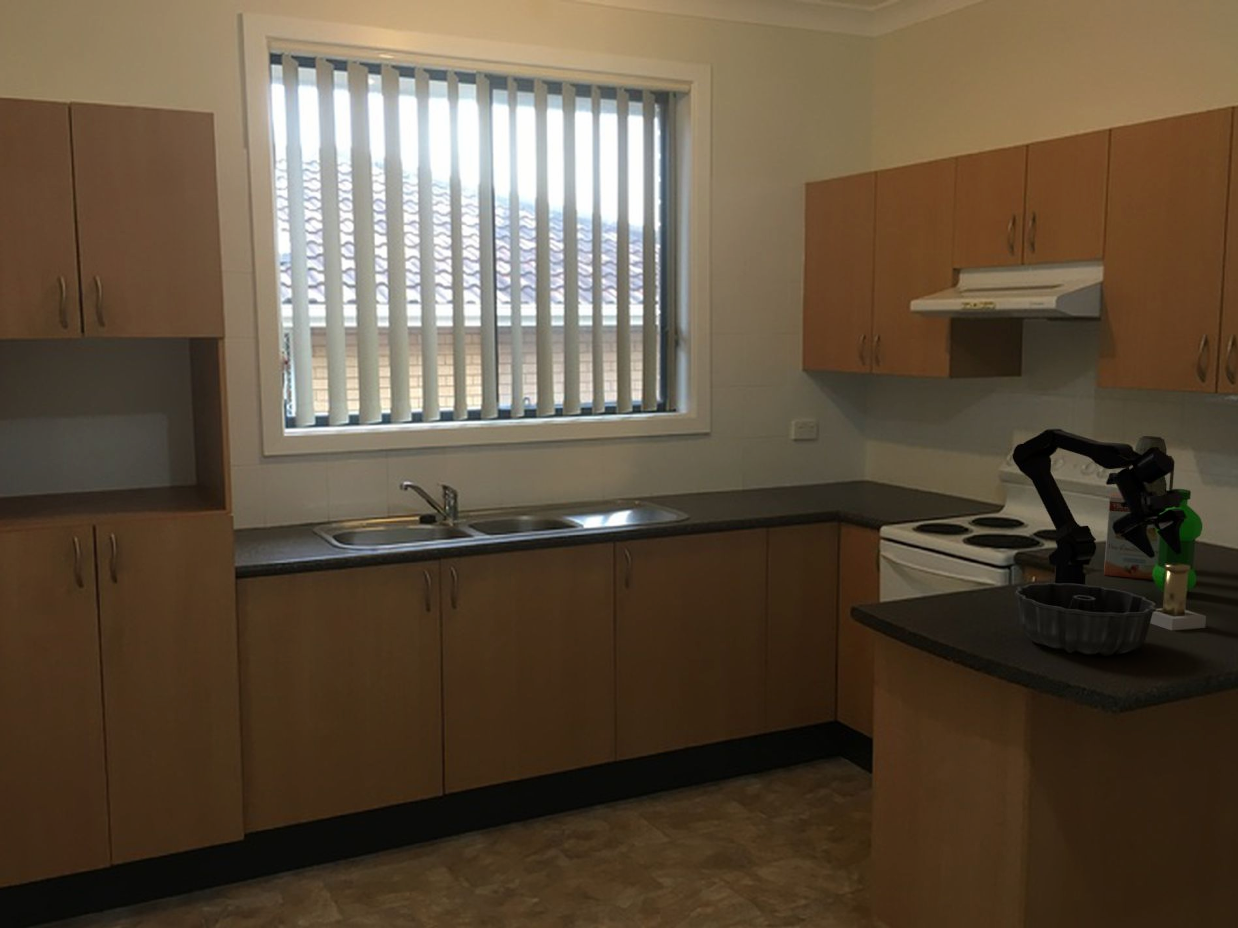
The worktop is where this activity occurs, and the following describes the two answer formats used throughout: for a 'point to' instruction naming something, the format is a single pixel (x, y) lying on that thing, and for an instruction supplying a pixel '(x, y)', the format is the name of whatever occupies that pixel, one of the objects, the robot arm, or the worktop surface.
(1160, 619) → the frame
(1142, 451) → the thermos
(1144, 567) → the cracker box
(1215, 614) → the worktop surface
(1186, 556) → the plastic bottle
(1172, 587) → the gold cylinder
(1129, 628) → the bundt pan
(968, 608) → the worktop surface
